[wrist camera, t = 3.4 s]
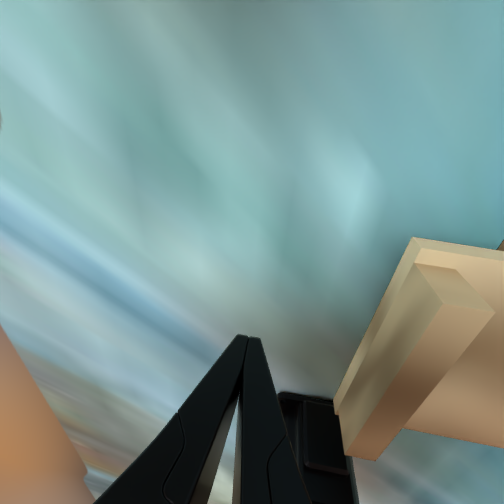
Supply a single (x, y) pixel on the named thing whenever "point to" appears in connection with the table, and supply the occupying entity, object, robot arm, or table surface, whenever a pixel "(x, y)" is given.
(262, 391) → the robot arm
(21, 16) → the table surface
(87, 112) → the table surface
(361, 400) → the lid
